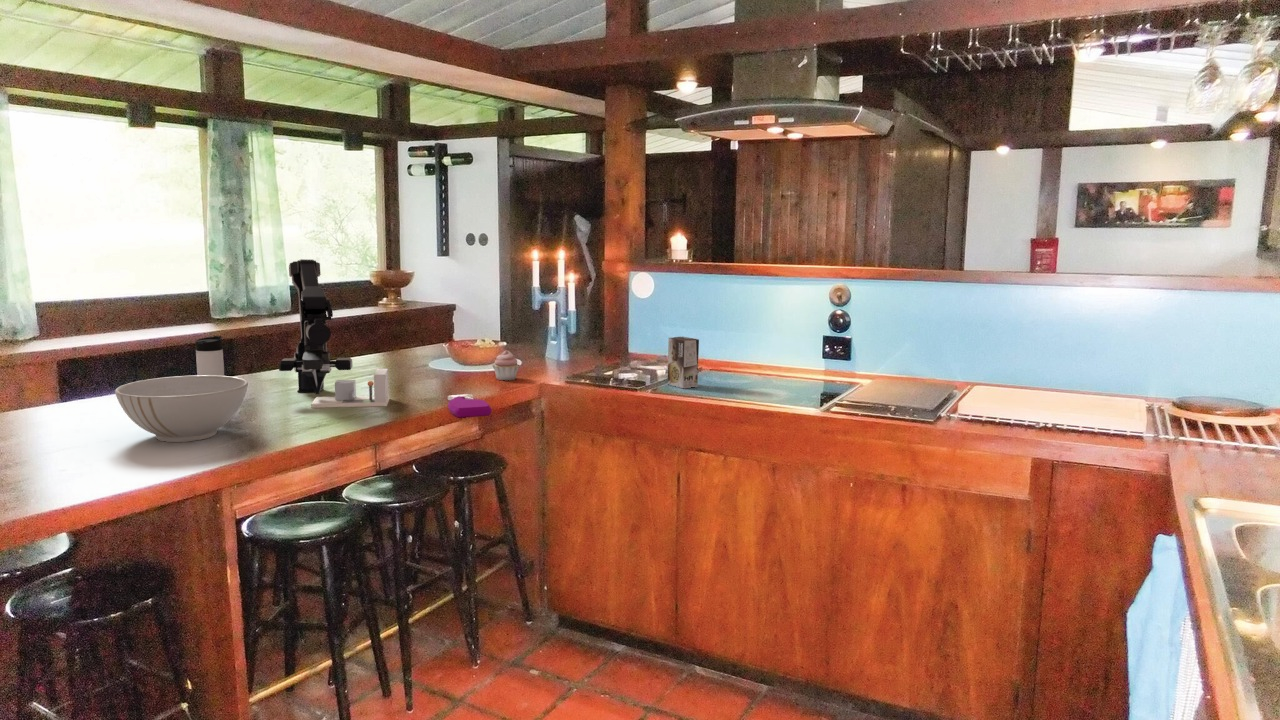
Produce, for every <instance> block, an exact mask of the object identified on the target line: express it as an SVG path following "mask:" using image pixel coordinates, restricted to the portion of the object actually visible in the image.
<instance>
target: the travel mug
mask: <svg viewBox="0 0 1280 720" xmlns="http://www.w3.org/2000/svg"><path fill="white" fill-rule="evenodd" d="M223 350H224V349H223V338H222V335H214V336H209V337H202V338H198V339H196V340H195V357H196V358H195V359H196V373H197V374H196V375H215V376H225V363H224V351H223Z"/></svg>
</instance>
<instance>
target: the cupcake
mask: <svg viewBox="0 0 1280 720" xmlns="http://www.w3.org/2000/svg"><path fill="white" fill-rule="evenodd" d="M495 358H496V359H495V360H494V364H491V366H492V368H493V370H494V372H495V377H496V379H497V380H498V381H503V380H505V381H508V380H509V381H514V380H516V378H517V374H518V372H519V371H518V370H519V368H520V366H521V364H518V359H517V358H516V357H515V356H514V354H513V353H512V352H511V351H509V350H507V349H505V350H504V351H503V352H502V353H501V354H499V355H497V356H496V357H495Z"/></svg>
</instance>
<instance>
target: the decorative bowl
mask: <svg viewBox="0 0 1280 720" xmlns="http://www.w3.org/2000/svg"><path fill="white" fill-rule="evenodd" d="M248 388H249V382H248V381H247V380H246V379H244V378H241V377H236V376H227V375H224V376H215V375H197V374H195V375H180V376H179V375H177V376H167V377H157V378H150V379H144V380H137V381H133V382H129V383H126V384H123V385H119V386H118V387H117V388H116V389H115V390H114V393H115V397H116V399H117V401H118V403H119V405H120V407H121V408H122V410H123V412H124V413H125V415H126V416H127V417H128V418H129V419H130V420H131V421H132V422H133V423H134V424H136V426H137V427H139V428H141V429H143V430H144V431H145V432H148V433H150V434H153V435H155V438H157V439H158V440H157V439H156V440H157V441H161V442H164V441H166V443H185V442H195V441H201V440H205V439H208V438H212V437H214V436H215V435H217V433H218V429H220V428H221V427H223V426H224V425H226V424H227V423H228V422H229V421H230V420H231V419H232V418H233V417H234V416H235V415H236V413H237V412H238V411H239V409H240V407H241V406H242V404H243V402H244V400H245V397H246V395H247V391H248Z"/></svg>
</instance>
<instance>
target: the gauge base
mask: <svg viewBox="0 0 1280 720" xmlns="http://www.w3.org/2000/svg"><path fill="white" fill-rule="evenodd" d="M388 373H389V369H388V368H376V370H375V372H374V374H373V383H374V384H373V390H374V391H373V393H374V394H373V395H372V400H369V395H356V397H355V399H354V400H335V396H316V397H315V398H314V400H313V401H312V402H311V403H310V408H311V409H315V408H316V409H317V408H352V407H354V408H357V407H362V408H363V407H387V406H388V405H389V401H390V395H389V375H388Z"/></svg>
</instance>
